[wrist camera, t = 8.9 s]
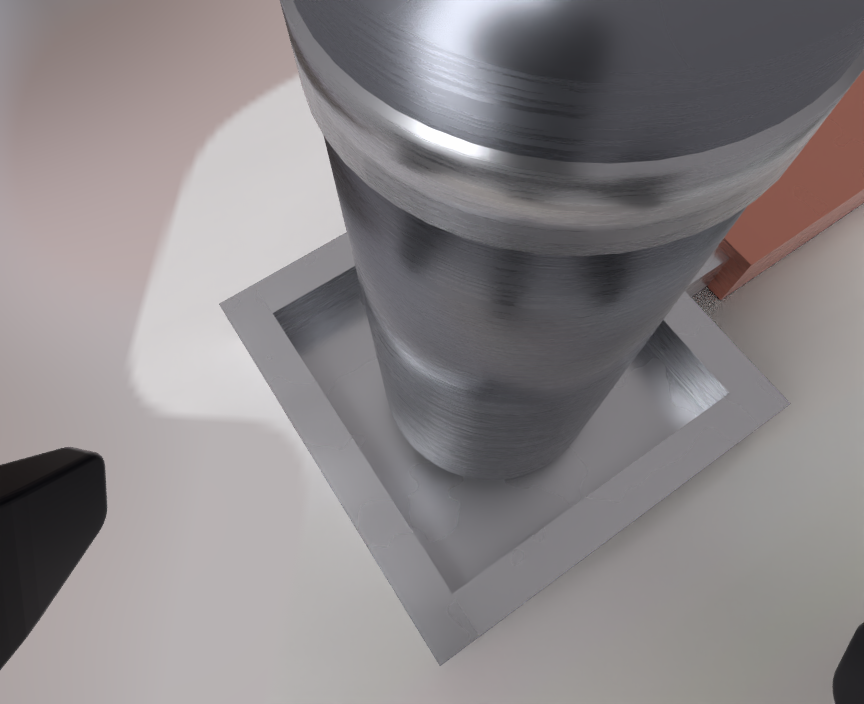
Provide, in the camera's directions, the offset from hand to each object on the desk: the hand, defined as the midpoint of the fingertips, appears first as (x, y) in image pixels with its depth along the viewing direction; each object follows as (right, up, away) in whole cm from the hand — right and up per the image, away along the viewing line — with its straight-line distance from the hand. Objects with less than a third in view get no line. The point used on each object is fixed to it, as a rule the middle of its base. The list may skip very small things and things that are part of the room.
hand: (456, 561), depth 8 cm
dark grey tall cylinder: (+1, +2, +10) cm, 10 cm away
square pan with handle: (+8, +6, +12) cm, 16 cm away
